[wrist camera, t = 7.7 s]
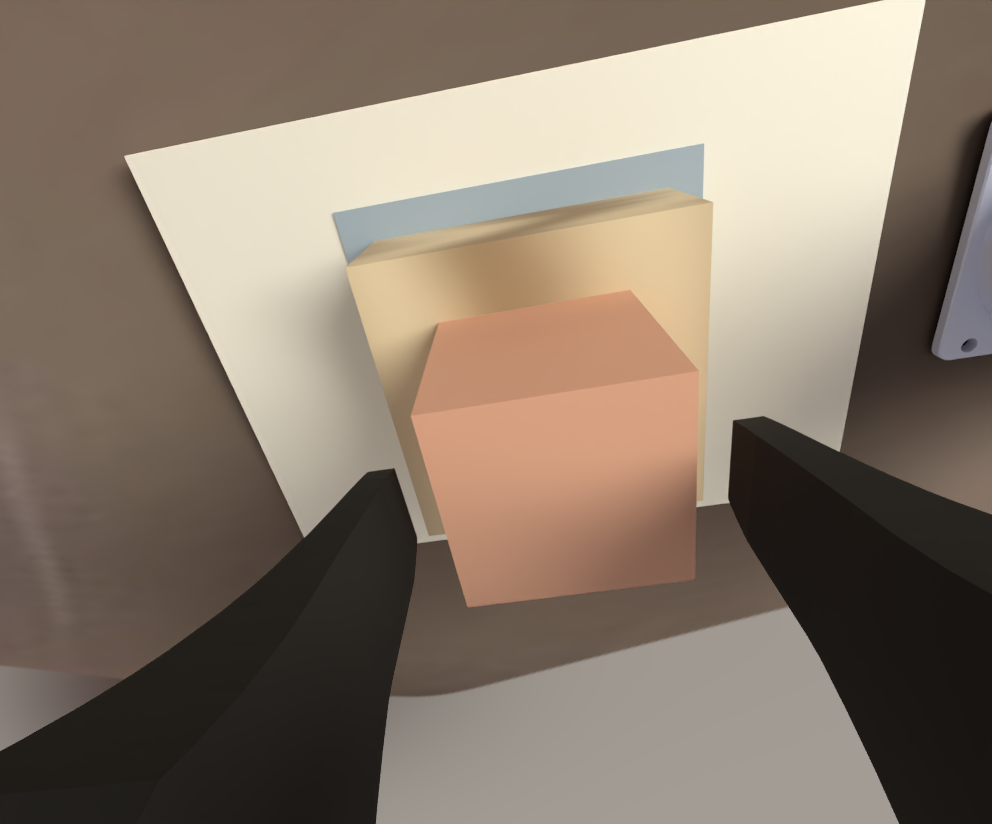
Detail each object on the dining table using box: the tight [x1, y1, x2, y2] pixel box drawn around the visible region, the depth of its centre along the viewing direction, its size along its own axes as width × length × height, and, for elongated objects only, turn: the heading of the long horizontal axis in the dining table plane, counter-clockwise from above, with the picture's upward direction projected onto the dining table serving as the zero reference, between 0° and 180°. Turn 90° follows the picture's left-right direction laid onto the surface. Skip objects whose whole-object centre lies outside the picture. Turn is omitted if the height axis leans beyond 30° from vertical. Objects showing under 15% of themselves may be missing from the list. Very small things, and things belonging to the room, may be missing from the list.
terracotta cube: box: [411, 290, 699, 607], centre depth 12 cm, size 5×5×5 cm
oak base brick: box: [345, 188, 713, 536], centre depth 16 cm, size 9×9×4 cm
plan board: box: [124, 0, 925, 543], centre depth 18 cm, size 22×16×1 cm
